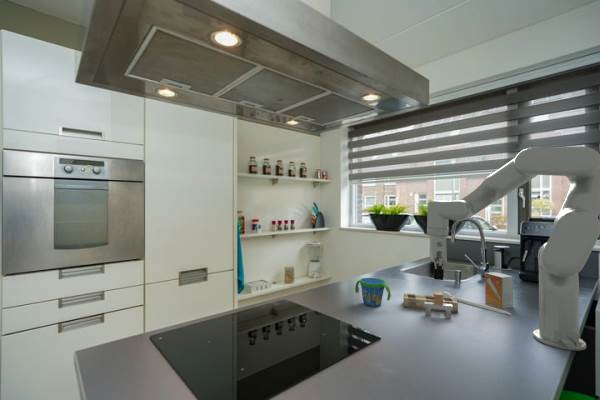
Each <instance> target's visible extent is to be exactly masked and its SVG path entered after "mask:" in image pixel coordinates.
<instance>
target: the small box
mask: <svg viewBox="0 0 600 400" xmlns="http://www.w3.org/2000/svg"><path fill="white" fill-rule="evenodd" d="M484 279H485V280H484V281H485V285H484V286H485V289H484V291H485V292H484V293H485V295H484V296H485V297H484V302H485V303H487V304H489V305H491V306H495V307H498V308H499V307H500V308H499V309H501V310H503V309H510V308H514V276H513V275H508V274H505V273H500V272H496V271H493V272H485V278H484Z"/></svg>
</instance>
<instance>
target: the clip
mask: <svg viewBox="0 0 600 400" xmlns="http://www.w3.org/2000/svg"><path fill="white" fill-rule="evenodd" d="M432 293H433V295H432V296H433V302H424V308H426V310H425V315H426V316H427V317H432V310H431V308H432V309H442V310H445V312H444V314H445V318H446V319H452V312H451V310H453V305H452V304H444V303H443V292H438V291H433V292H432Z"/></svg>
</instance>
